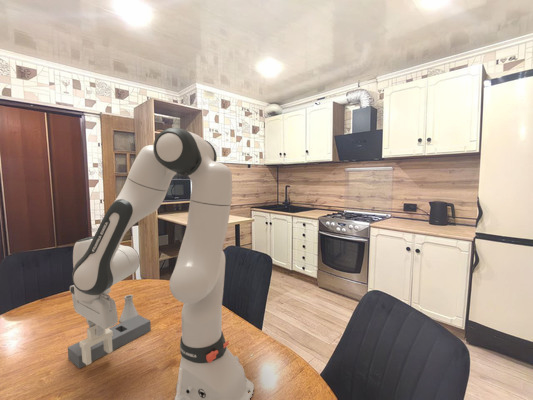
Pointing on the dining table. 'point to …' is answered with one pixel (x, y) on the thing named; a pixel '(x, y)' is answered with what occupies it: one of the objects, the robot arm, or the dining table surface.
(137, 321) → the rail
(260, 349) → the dining table surface
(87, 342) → the clip
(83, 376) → the dining table surface
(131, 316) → the flask
